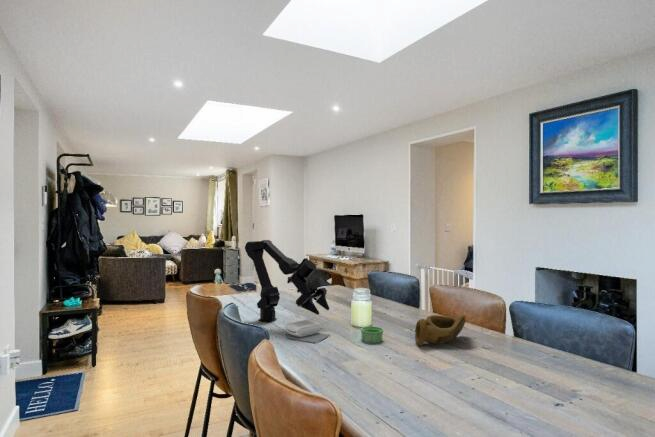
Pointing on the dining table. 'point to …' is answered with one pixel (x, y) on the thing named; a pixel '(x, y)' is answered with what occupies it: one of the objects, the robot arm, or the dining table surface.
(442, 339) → the brown looped sculpture
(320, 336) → the mat
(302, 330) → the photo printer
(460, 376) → the dining table surface
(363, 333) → the ramekin
